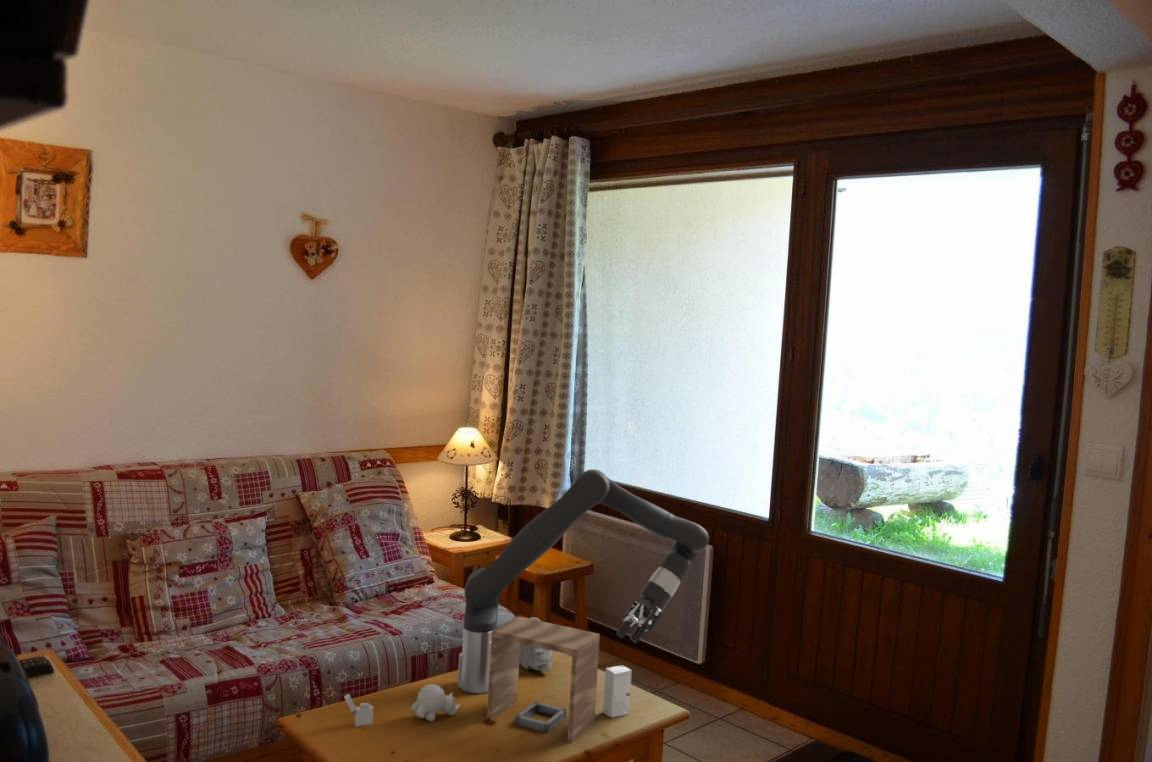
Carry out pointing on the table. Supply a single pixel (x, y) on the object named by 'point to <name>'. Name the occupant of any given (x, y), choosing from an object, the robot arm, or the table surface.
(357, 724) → the lighter
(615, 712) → the skincare box
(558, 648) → the wooden bench
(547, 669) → the decorative rock
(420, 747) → the table surface
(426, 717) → the toy rhinoceros
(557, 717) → the socket collar
